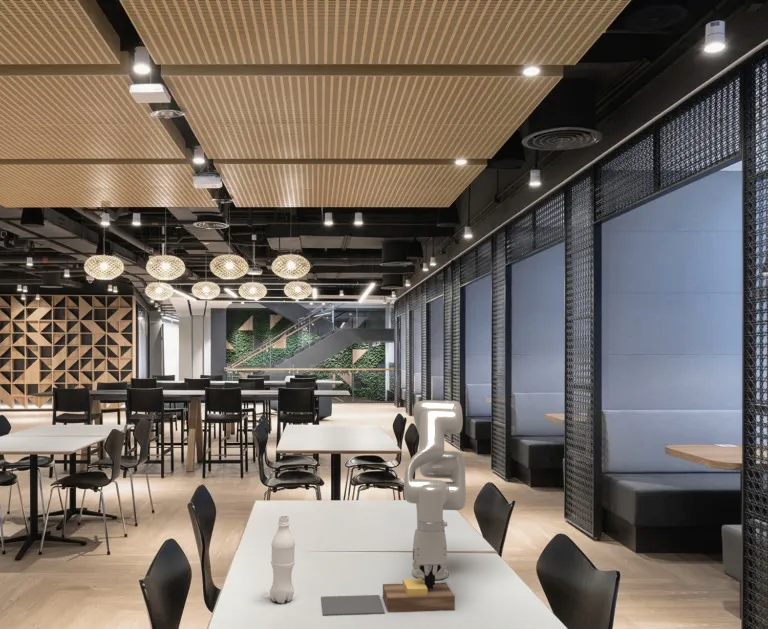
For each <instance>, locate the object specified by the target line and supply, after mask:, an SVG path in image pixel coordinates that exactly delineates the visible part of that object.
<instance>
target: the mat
mask: <svg viewBox="0 0 768 629" xmlns="http://www.w3.org/2000/svg"><path fill="white" fill-rule="evenodd" d="M320 600H321V611H322V612H321V613H322V616H323V617H325V616H326V617H327V616H330V617H331V616H353V615H354V616H357V615H361V616H362V615H385V614H386V612H385V609H384V606H383V602H382V599H381V596H380V594H370V595H369V594H367V595H366V594H364V595H363V594H362V595H333V596H332V595H330V596H328V595H326V596H321V597H320Z"/></svg>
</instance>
